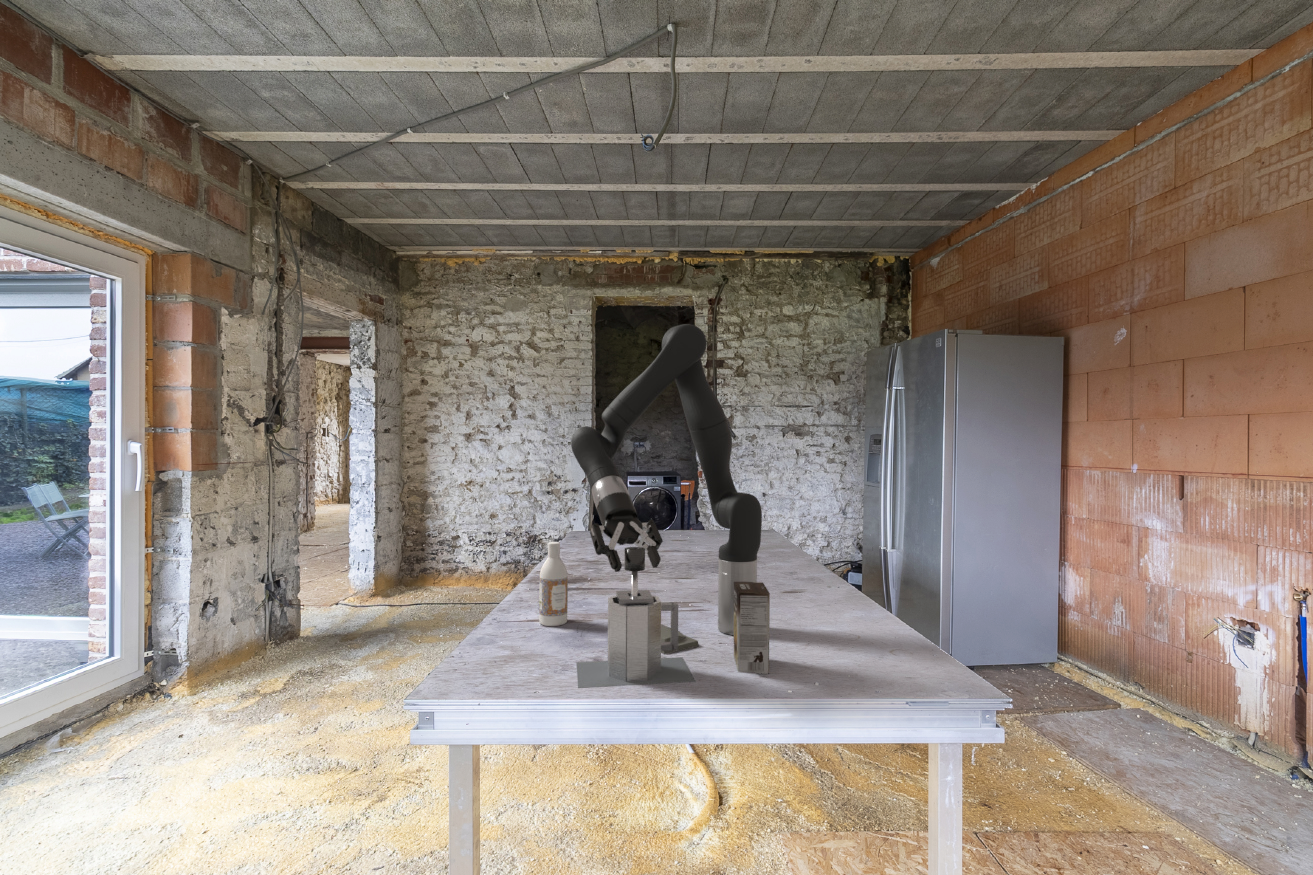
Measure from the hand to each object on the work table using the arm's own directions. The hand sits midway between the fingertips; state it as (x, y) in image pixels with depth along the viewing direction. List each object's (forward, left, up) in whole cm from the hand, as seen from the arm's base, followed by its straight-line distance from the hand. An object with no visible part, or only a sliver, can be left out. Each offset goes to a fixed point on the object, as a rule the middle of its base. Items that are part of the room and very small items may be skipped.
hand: (638, 567), depth 118 cm
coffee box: (-24, -2, -21) cm, 32 cm away
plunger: (0, -1, -18) cm, 18 cm away
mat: (0, -1, -21) cm, 21 cm away
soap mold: (-7, -21, -22) cm, 31 cm away
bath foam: (+16, -37, -21) cm, 46 cm away
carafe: (-1, -1, -21) cm, 21 cm away
